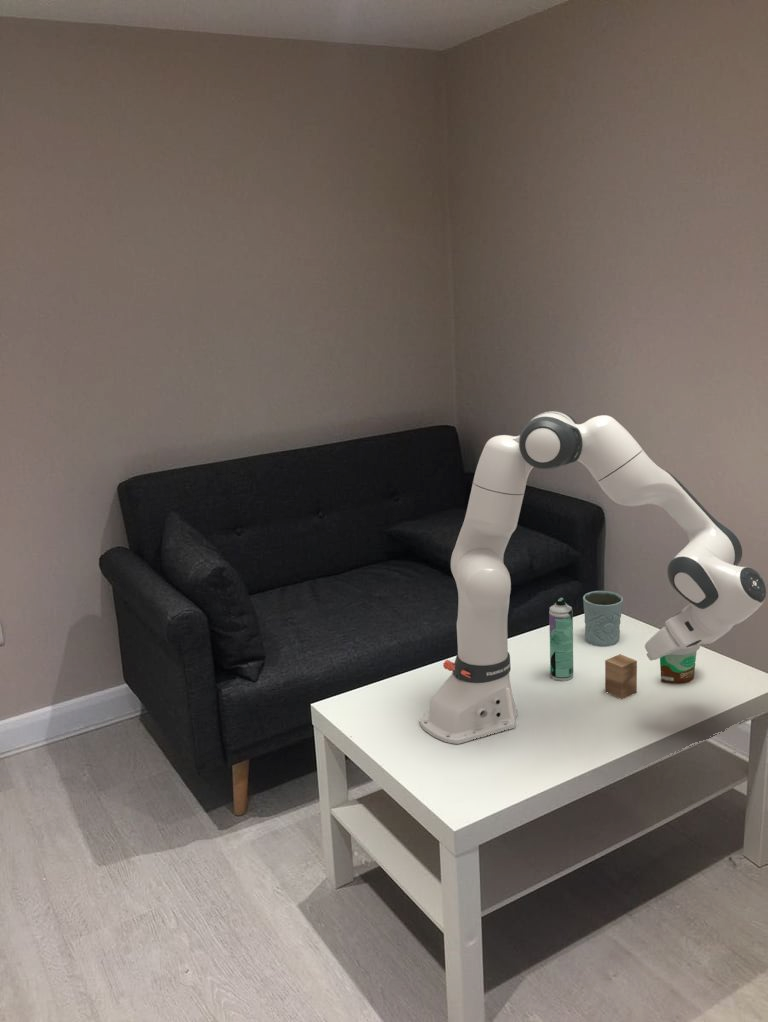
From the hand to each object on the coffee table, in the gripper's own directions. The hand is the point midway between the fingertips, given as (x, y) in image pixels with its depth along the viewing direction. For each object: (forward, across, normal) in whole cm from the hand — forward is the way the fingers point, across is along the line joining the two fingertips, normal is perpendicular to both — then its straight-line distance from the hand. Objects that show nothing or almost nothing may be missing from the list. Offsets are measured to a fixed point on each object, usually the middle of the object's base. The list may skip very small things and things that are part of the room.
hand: (664, 650), depth 199 cm
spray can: (+30, +4, -9) cm, 31 cm away
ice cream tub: (+16, -16, +5) cm, 23 cm away
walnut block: (+19, 0, +2) cm, 19 cm away
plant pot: (+35, -19, -14) cm, 43 cm away
